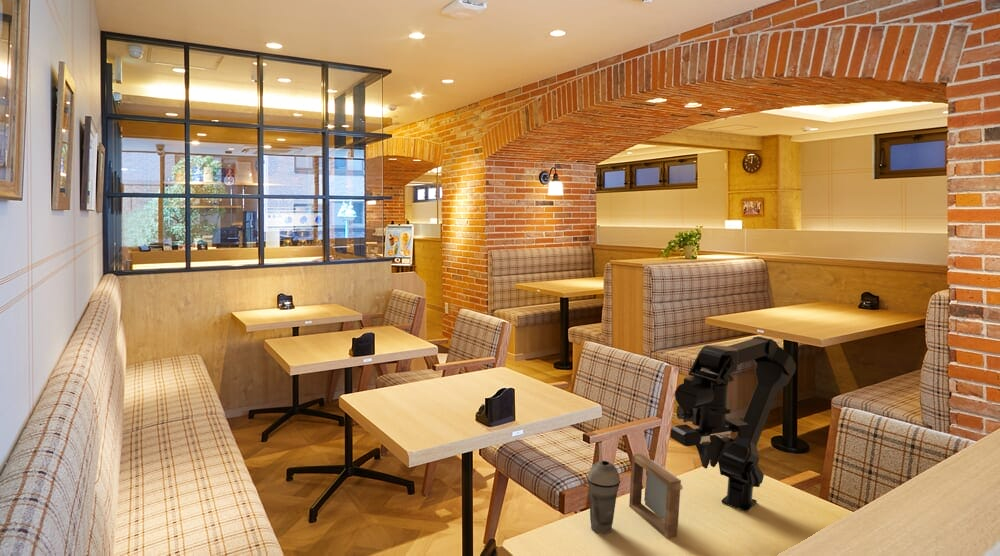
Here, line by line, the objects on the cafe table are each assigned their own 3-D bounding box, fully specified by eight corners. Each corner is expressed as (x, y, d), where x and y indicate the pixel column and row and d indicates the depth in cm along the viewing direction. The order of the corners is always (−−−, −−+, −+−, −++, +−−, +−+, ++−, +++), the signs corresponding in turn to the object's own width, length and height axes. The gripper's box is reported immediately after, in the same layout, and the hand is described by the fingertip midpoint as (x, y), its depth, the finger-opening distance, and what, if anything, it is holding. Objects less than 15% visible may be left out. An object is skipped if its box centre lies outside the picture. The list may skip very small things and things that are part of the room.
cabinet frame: (638, 504, 147) (640, 453, 145) (676, 536, 133) (680, 480, 131) (629, 506, 146) (632, 454, 144) (667, 538, 132) (670, 482, 130)
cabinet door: (650, 501, 146) (653, 458, 145) (681, 526, 135) (684, 479, 134) (643, 502, 145) (645, 459, 144) (673, 528, 134) (676, 480, 133)
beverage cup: (617, 539, 131) (622, 451, 129) (583, 535, 133) (587, 447, 130) (617, 522, 138) (622, 438, 136) (585, 518, 140) (589, 435, 137)
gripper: (721, 387, 148) (716, 448, 150) (657, 394, 142) (653, 458, 144) (755, 402, 138) (750, 467, 140) (688, 410, 131) (683, 478, 133)
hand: (708, 467), depth 140 cm, fingers closed
